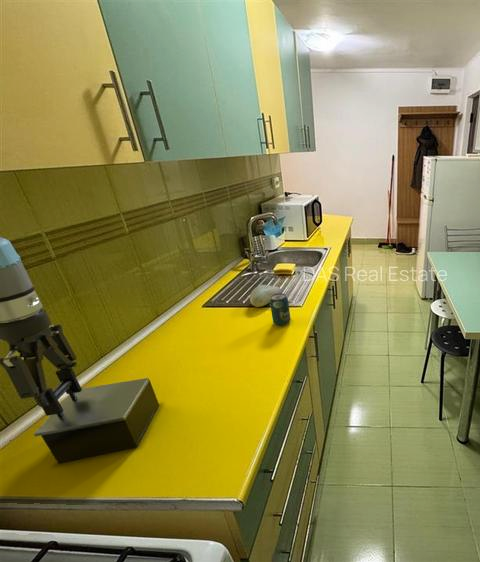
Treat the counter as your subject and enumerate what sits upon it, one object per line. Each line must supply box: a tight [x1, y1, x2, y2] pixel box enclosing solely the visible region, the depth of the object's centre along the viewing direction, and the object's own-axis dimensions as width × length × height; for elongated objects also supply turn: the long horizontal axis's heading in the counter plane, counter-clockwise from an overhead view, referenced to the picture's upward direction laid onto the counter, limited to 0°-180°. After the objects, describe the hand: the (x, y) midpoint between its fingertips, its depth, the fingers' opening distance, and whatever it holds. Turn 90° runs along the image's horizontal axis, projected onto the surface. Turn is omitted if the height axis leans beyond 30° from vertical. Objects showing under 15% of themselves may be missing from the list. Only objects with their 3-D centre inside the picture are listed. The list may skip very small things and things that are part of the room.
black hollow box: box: [41, 379, 160, 464], centre depth 74 cm, size 16×14×9 cm
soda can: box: [269, 292, 292, 327], centre depth 122 cm, size 7×7×12 cm
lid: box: [33, 377, 150, 437], centre depth 71 cm, size 17×14×7 cm
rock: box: [249, 284, 282, 308], centre depth 141 cm, size 8×11×20 cm
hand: (65, 402), depth 70 cm, fingers closed on lid, 6 cm apart
